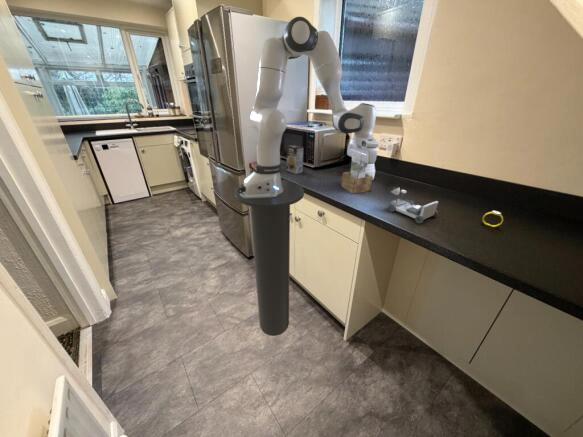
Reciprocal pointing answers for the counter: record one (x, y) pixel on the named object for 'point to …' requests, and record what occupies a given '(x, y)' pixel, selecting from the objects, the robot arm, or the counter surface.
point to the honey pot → (370, 170)
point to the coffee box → (294, 159)
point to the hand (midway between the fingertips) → (358, 168)
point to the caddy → (356, 183)
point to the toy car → (413, 207)
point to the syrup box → (357, 166)
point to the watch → (494, 214)
